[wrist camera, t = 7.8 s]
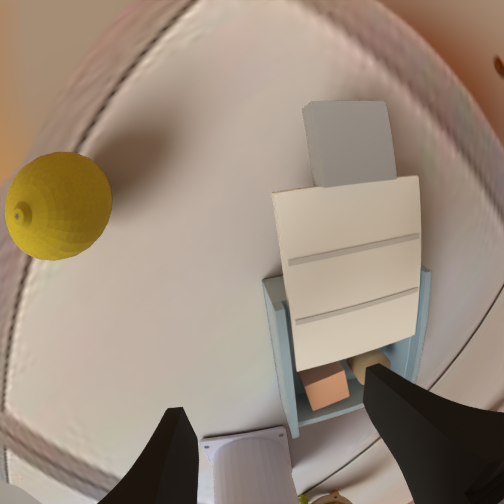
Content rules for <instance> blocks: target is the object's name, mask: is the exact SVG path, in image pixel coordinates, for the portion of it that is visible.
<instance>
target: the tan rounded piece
mask: <svg viewBox="0 0 504 504" xmlns="http://www.w3.org/2000/svg"><path fill="white" fill-rule="evenodd" d="M346 361H347V364H348V366H349V367H350V369H351V370H352V372H353V373H354V375H355V376H356V378H357V379H358V381H359V382H360V383H361V384H362V385H364V382H365V371H366V367H369V366H372V365H374V364H377V363H380V364H382V365H384V366H385V367H387V368H389V369H390V366H391V362H390V360H389V358H388V357H387V356H386V355H385V354H384V353H383V352H382V350H381V349H380V348H377V349H374V350H371V351H368V352H365V353H362V354H359V355H355V356H352V357H349V358H346Z"/></svg>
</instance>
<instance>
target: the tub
mask: <svg viewBox="0 0 504 504" xmlns="http://www.w3.org/2000/svg"><path fill="white" fill-rule="evenodd" d="M431 274H432V271H431V270H429V269H427V268H425V267H423V266H421V271H420V289H419V302H418V312H417V322H416V330H415V335H413V336H410V337H408V338H405V339H402V340H400V341H397V342H394V343H391V344H389V345H386V346H383V347H380V349H381V350H382V352H383V353H384V354H385V355H386V356H387V357H388V358H389V360H390V362H391V366H390V370H392V371H393V372H395V373H397V374H398V375H400V376H402V377H404V378H405V379H407V380H409V381H410V382H412V383H414V384H416V380H417V375H418V370H419V366H420V361H421V355H422V350H423V344H424V338H425V331H426V324H427V317H428V308H429V299H430V288H431ZM262 283H263V290H264V296H265V302H266V308H267V315H268V321H269V327H270V333H271V340H272V346H273V352H274V359H275V365H276V372H277V378H278V384H279V391H280V397H281V401H282V405H283V408H284V411H285V415H286V418H287V421H288V425H289V428H290V431H291V435H292V438H297V437H299V428H298V427H301V426H305V425H309V424H313V423H316V422H320V421H323V420H327V419H330V418H334V417H337V416H340V415H343V414H346V413H349V412H352V411H355V410H358V409H361V408H364V407H365V406H364V404H363V393H364V385H362V384H361V383H360V382H359V381H358V379H357V378H356V376H355V375H354V373H353V372H352V370H351V369H350V367H349V366H348V364H347V361H346V359H342V360H339V362H340V364H341V366H342V367H343V369H344V371H345V376H346V380H347V385H348V390H349V395H350V396H349V397H347V398H345V399H342V400H340V401H338V402H335V403H333V404H330V405H328V406H326V407H323V408H321V409H318V410H315V411H313V410H312V408H311V405H310V403H309V400H308V398H307V395H306V393H305V390H304V388H303V385H302V382H301V379H300V376H299V374H298V372H297V371H296V368H295V366H294V359H293V350H292V342H291V333H290V325H289V317H288V308H287V301H286V293H285V285H284V277H283V276H279V277H274V278H269V279H264V280H262Z"/></svg>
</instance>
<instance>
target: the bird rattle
mask: <svg viewBox="0 0 504 504" xmlns="http://www.w3.org/2000/svg"><path fill="white" fill-rule="evenodd" d="M298 500H299V503H300V504H308V500H307V496H306V495H303V494H301V496H300V498H299V499H298ZM311 504H352V503H351V502H350V501H349V500H348V499H347V498H345V497H343V496H341V495H339V493H338V492H337V491H333V492H332V493H331V494H330V495H325V496H322V497H320V498H318V499H316V500H315V501H314V502H312V503H311Z"/></svg>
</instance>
